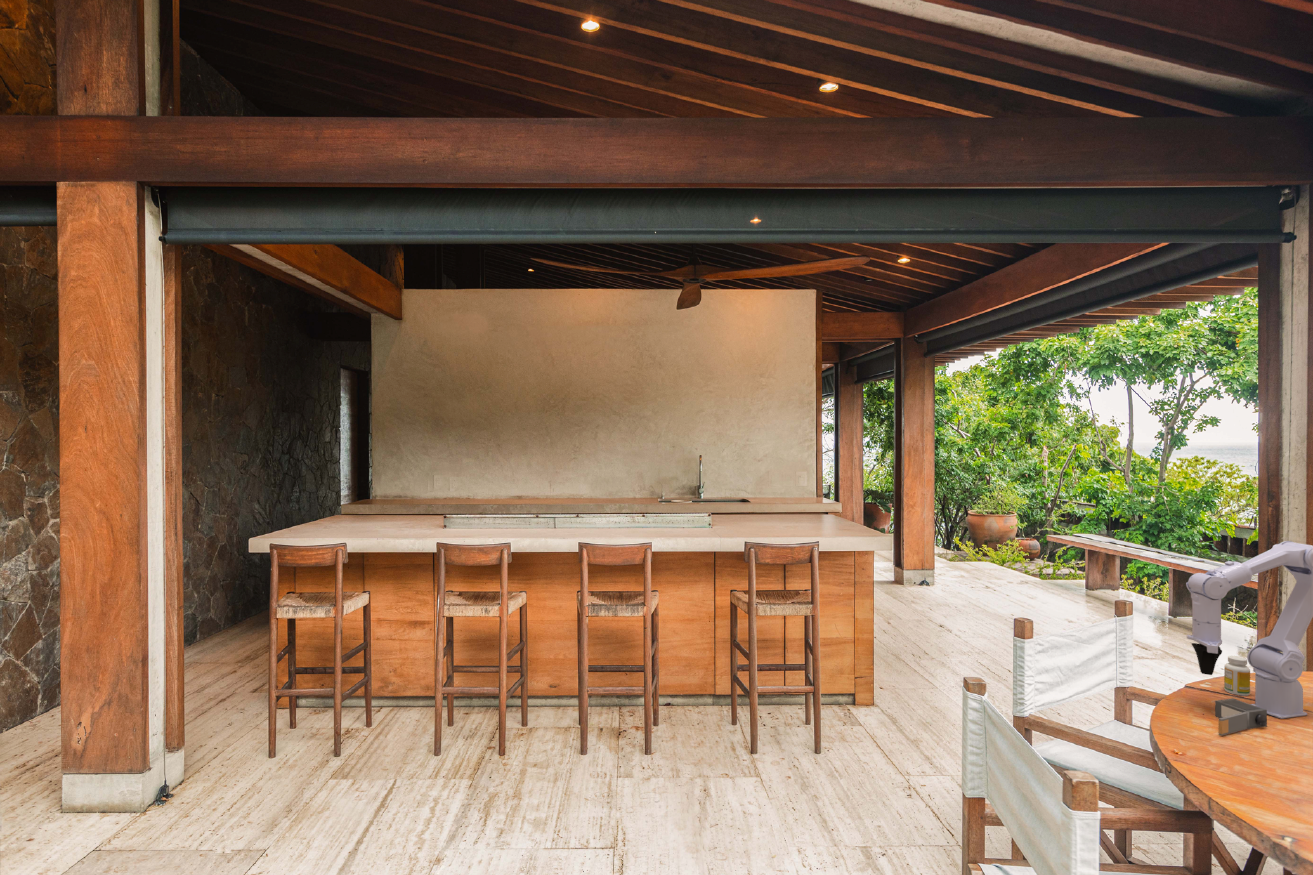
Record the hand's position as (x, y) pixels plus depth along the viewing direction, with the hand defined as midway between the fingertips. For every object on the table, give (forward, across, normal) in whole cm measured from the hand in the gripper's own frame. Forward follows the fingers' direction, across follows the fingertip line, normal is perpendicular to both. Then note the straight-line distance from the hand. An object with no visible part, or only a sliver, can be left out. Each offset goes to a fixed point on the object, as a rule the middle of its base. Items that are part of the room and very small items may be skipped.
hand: (1206, 673), depth 170 cm
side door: (+9, +14, +3) cm, 17 cm away
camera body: (+9, +4, +6) cm, 12 cm away
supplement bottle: (+10, -20, +10) cm, 24 cm away
